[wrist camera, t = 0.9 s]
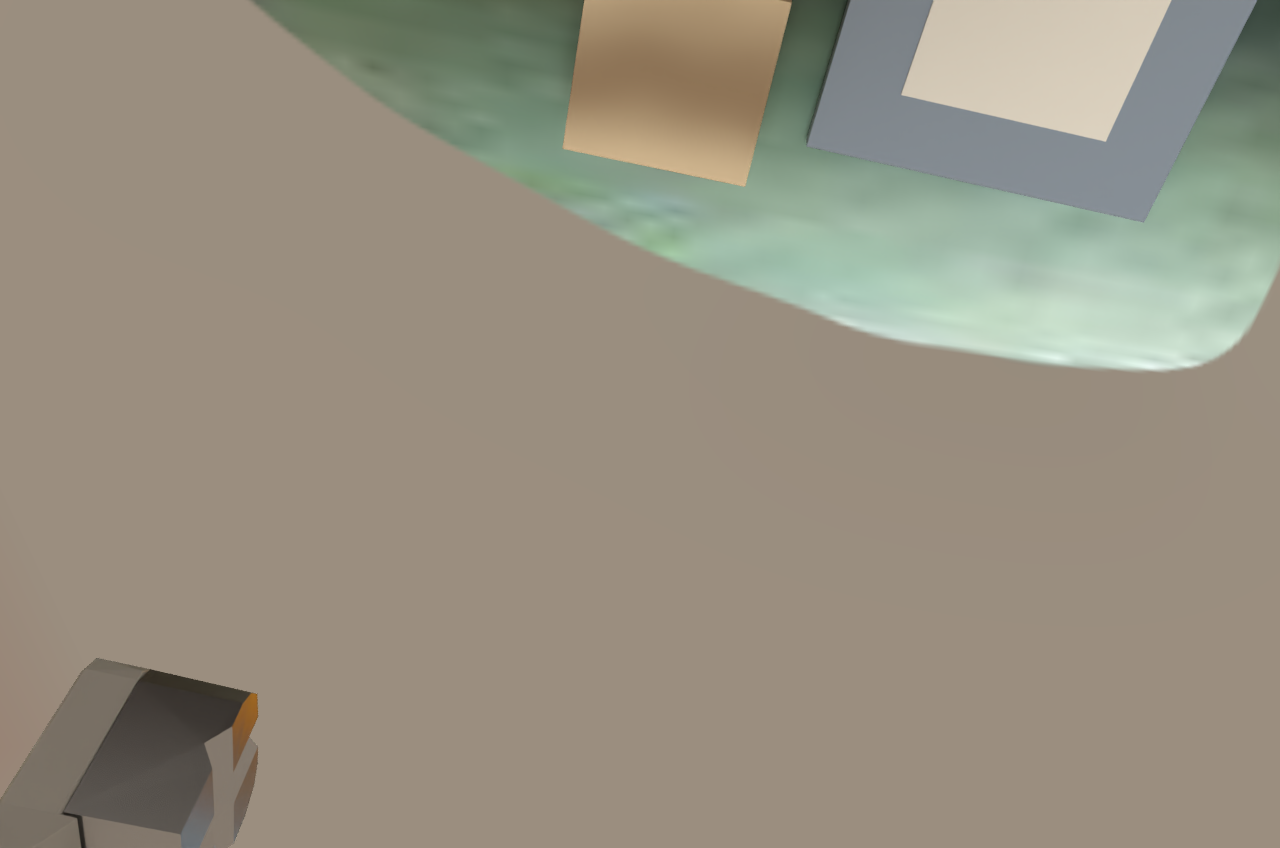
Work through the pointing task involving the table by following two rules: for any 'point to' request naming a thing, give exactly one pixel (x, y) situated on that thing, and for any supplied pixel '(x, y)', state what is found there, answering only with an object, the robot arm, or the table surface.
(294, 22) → the table surface
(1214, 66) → the plate
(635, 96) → the oak block
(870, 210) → the table surface
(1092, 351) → the table surface
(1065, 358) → the table surface
